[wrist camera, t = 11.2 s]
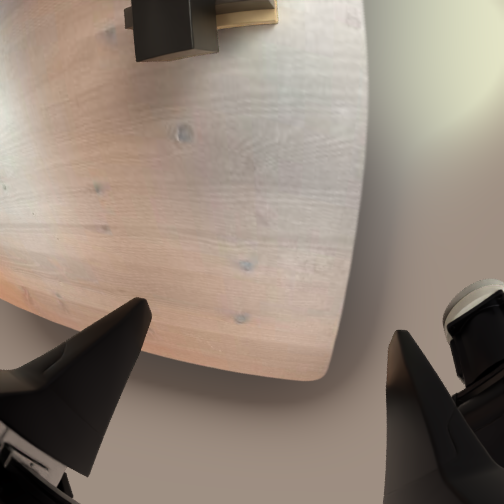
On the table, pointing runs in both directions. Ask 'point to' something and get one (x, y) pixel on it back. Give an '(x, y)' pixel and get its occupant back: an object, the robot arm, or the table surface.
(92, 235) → the table surface
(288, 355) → the table surface
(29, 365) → the robot arm
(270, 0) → the rack
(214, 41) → the knife
